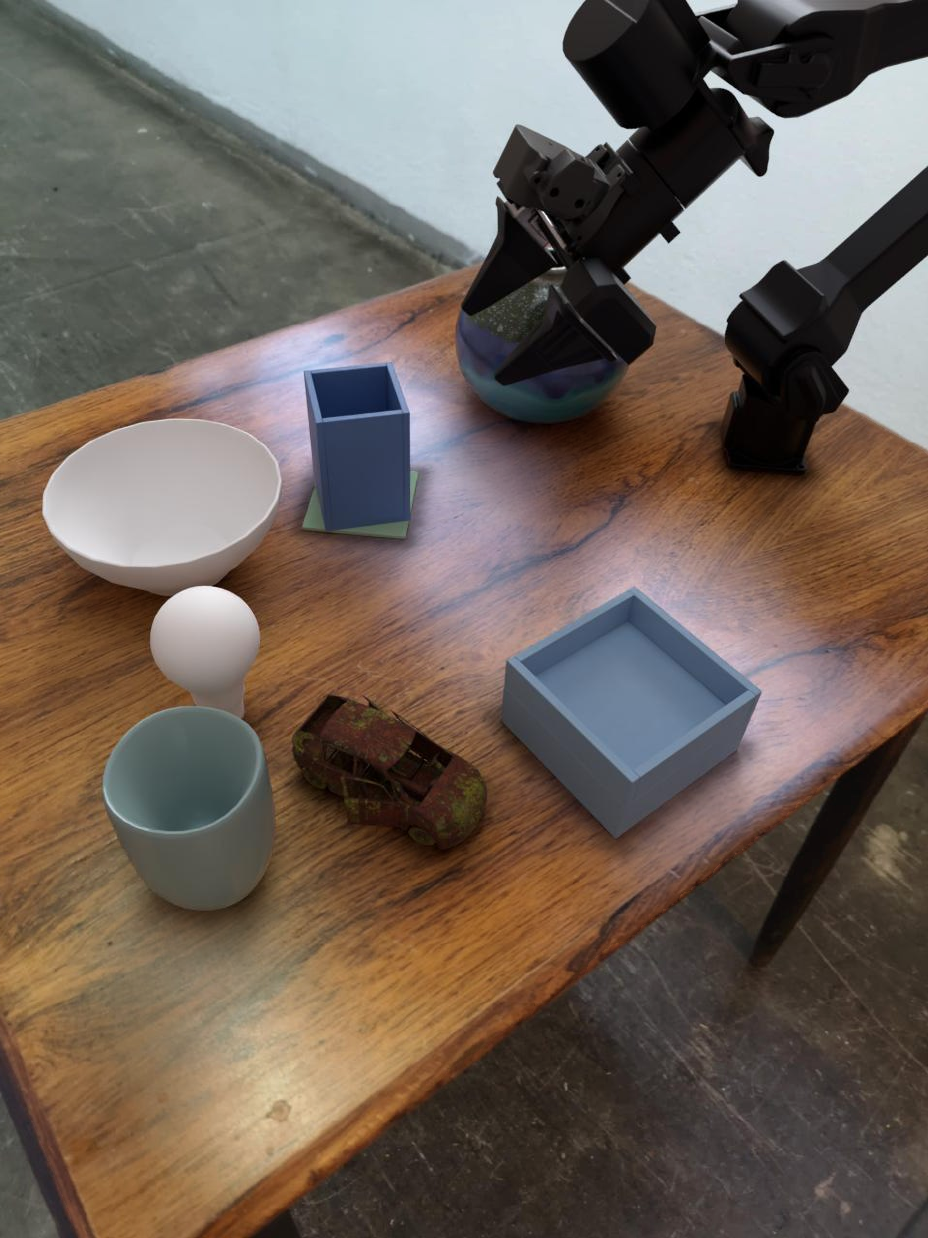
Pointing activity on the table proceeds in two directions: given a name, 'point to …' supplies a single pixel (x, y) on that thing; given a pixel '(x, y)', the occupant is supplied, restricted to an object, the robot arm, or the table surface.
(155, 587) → the bowl
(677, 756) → the lower bin
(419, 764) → the toy car
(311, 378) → the upper bin
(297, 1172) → the table surface
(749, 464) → the robot arm
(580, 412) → the vase
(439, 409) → the table surface
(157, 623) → the lightbulb
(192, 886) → the cup
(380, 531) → the mat
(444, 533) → the table surface
